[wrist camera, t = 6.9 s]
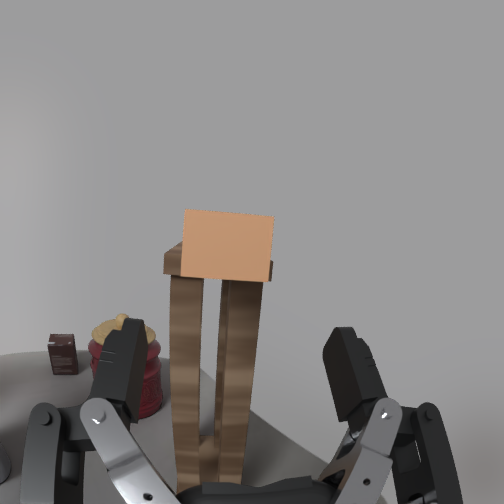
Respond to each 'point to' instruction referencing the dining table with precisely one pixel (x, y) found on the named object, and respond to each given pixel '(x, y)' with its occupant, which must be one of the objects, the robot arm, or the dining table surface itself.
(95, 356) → the canister
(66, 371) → the box
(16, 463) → the dining table surface
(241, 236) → the terracotta bar
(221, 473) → the walnut shelf stand
